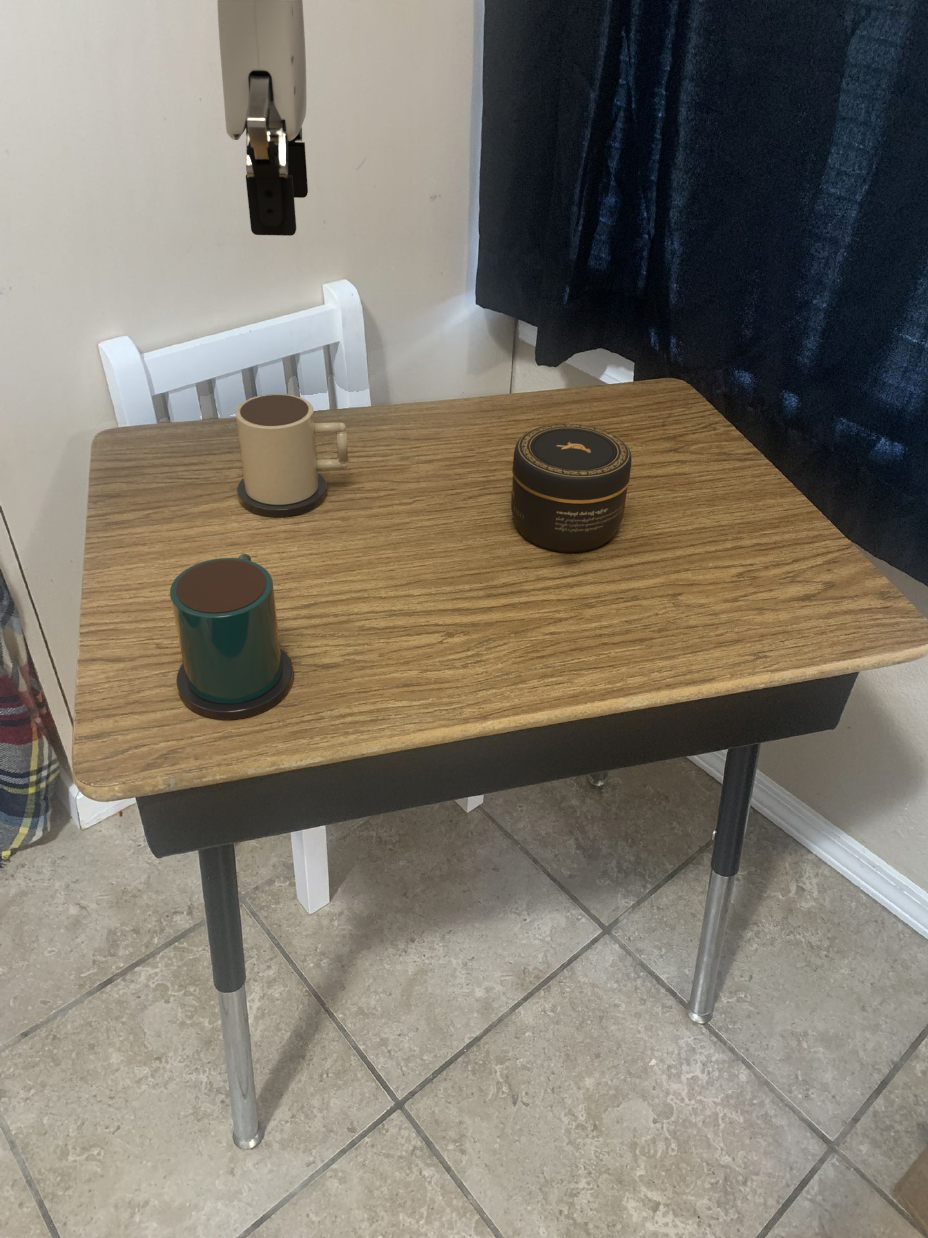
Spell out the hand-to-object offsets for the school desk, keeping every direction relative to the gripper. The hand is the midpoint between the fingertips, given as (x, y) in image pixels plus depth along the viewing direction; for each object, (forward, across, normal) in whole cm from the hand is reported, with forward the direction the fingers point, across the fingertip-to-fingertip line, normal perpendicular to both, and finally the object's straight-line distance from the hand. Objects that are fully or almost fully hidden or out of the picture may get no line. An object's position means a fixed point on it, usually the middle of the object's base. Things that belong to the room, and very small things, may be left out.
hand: (281, 214), depth 75 cm
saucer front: (+24, +26, -2) cm, 36 cm away
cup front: (+24, +25, -2) cm, 34 cm away
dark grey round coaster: (+24, +1, -2) cm, 24 cm away
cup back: (+23, +1, -1) cm, 24 cm away
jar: (+24, +6, +23) cm, 34 cm away
